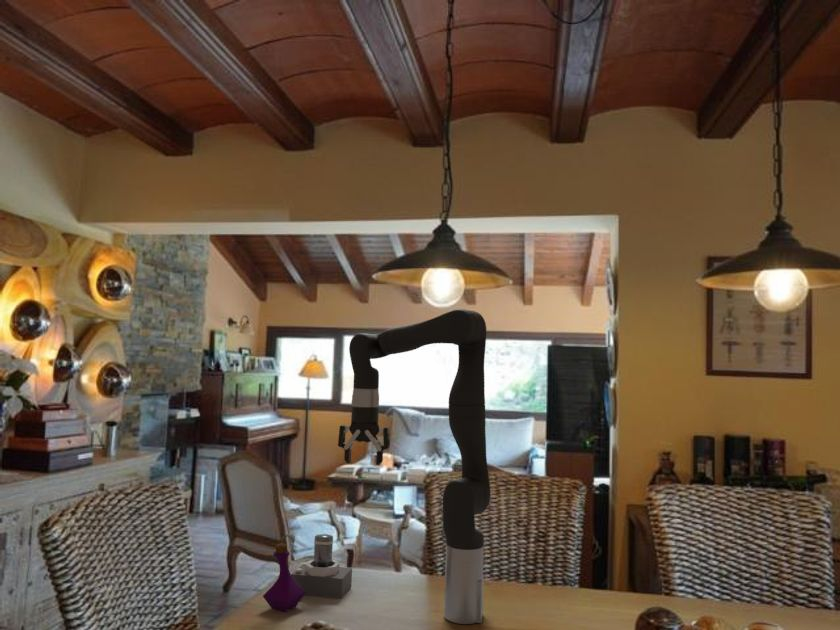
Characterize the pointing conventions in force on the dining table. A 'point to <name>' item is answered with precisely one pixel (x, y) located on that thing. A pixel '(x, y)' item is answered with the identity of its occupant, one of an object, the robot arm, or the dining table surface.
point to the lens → (323, 550)
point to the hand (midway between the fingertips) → (363, 463)
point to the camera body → (323, 579)
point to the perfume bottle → (284, 582)
